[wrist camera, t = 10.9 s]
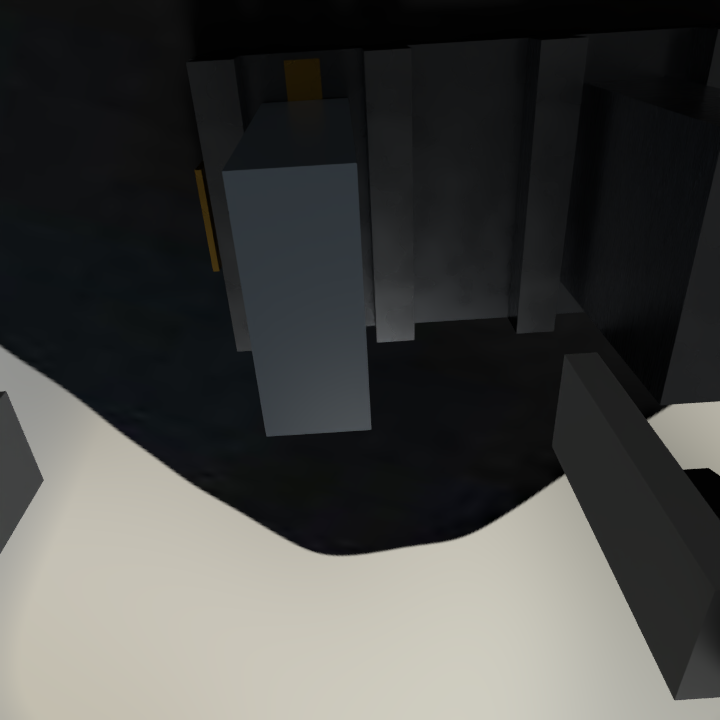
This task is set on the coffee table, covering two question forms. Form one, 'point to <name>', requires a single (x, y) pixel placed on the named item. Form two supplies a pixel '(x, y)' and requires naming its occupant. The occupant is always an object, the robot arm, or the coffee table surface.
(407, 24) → the coffee table surface
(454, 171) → the rack
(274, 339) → the gray rectangular block
